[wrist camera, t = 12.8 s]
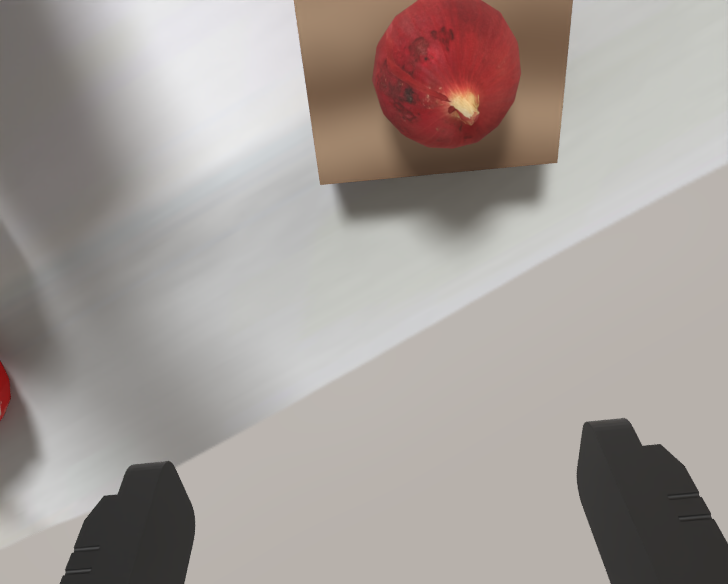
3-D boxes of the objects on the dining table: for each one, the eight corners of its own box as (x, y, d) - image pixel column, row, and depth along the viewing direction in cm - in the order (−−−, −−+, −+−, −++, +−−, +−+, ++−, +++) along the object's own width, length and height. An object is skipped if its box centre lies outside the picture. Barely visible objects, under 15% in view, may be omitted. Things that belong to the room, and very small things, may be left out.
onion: (363, 106, 29) (368, 178, 23) (378, -29, 26) (389, 9, 19) (484, 119, 30) (523, 192, 23) (513, -13, 26) (569, 29, 20)
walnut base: (290, -99, 29) (280, -91, 24) (550, -127, 28) (584, -124, 24) (323, 147, 35) (320, 184, 31) (532, 127, 35) (557, 162, 31)
